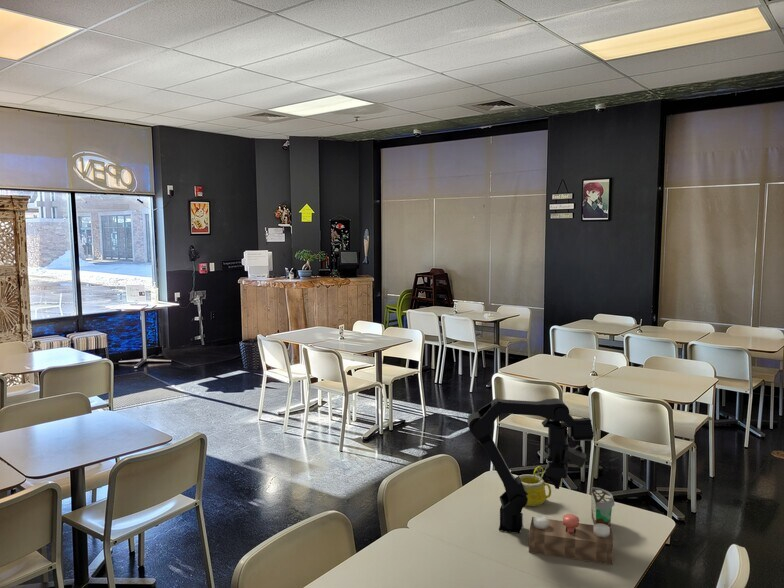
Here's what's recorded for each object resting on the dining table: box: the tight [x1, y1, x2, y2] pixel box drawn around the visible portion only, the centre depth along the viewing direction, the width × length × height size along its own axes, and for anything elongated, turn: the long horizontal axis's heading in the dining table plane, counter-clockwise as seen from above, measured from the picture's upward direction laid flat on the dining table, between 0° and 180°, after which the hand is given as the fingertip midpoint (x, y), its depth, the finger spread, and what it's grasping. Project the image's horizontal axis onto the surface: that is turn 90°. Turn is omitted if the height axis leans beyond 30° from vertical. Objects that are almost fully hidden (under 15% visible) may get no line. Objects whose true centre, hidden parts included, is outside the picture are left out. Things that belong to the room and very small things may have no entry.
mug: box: [518, 465, 552, 507], centre depth 203 cm, size 13×11×12 cm
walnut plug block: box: [528, 516, 614, 566], centre depth 171 cm, size 23×10×6 cm, turn 71°
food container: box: [590, 486, 615, 527], centre depth 185 cm, size 12×6×10 cm, turn 168°
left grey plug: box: [533, 515, 550, 529], centre depth 174 cm, size 4×4×8 cm
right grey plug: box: [593, 523, 611, 538], centre depth 168 cm, size 4×4×8 cm
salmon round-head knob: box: [562, 513, 580, 533], centre depth 171 cm, size 4×4×8 cm
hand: (557, 488), depth 183 cm, fingers closed
